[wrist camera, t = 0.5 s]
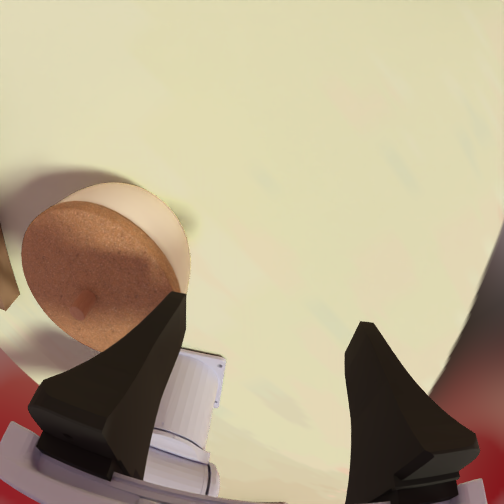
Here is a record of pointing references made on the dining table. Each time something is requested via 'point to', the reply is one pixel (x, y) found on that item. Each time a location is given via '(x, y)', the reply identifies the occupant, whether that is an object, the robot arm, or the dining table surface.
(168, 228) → the lidded jar
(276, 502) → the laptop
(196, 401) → the robot arm
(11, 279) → the walnut rail
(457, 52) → the dining table surface
